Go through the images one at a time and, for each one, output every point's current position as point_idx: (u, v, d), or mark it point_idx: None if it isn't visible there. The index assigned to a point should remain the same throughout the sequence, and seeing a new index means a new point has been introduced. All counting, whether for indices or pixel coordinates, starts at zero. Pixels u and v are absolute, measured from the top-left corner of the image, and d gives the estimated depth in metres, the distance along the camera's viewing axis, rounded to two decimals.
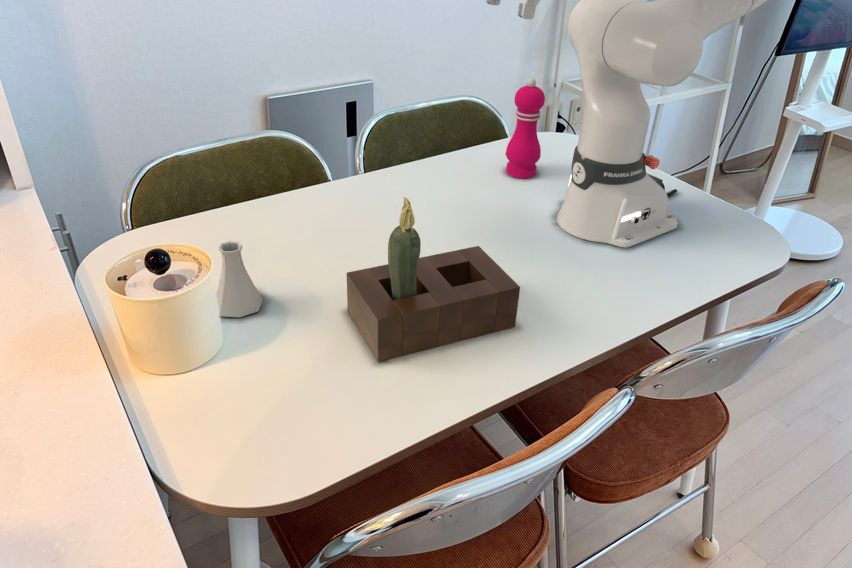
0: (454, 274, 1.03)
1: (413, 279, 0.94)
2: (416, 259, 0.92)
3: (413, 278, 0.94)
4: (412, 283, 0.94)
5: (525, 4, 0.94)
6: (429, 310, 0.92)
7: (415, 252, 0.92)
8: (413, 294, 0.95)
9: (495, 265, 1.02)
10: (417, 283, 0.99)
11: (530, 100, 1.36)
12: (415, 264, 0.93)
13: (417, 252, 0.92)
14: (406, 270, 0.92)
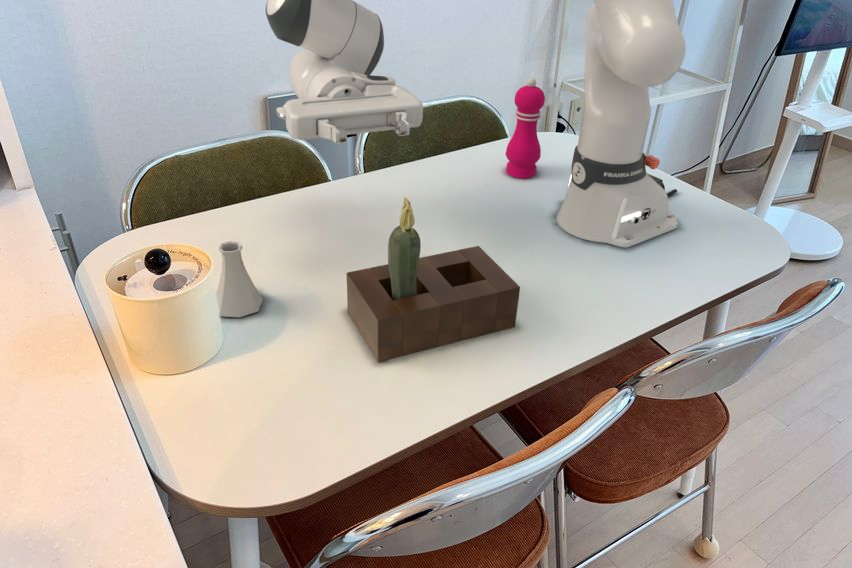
0: (454, 274, 1.03)
1: (413, 279, 0.94)
2: (416, 259, 0.92)
3: (413, 278, 0.94)
4: (412, 283, 0.94)
5: (331, 139, 0.95)
6: (429, 310, 0.92)
7: (415, 252, 0.92)
8: (413, 294, 0.95)
9: (495, 265, 1.02)
10: (417, 283, 0.99)
11: (530, 100, 1.36)
12: (415, 264, 0.93)
13: (417, 252, 0.92)
14: (406, 270, 0.92)
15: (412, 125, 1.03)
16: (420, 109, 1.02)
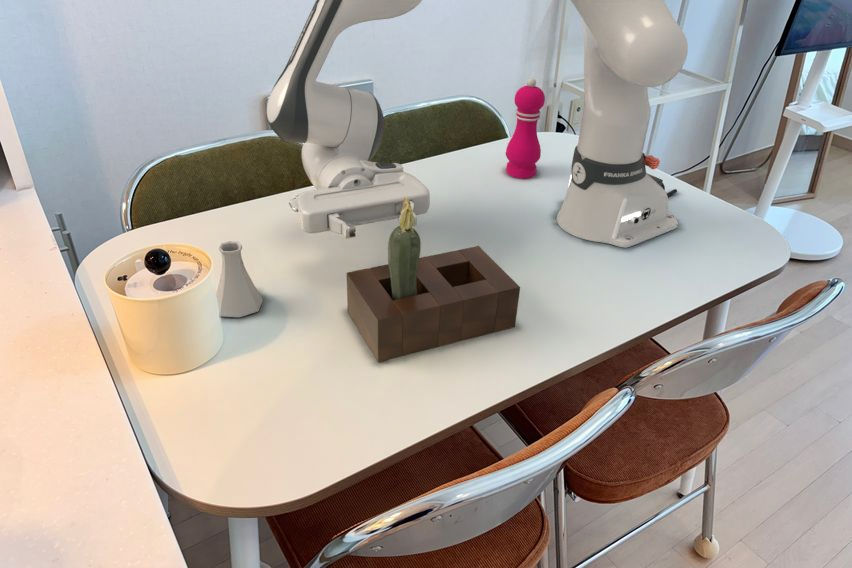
0: (454, 274, 1.03)
1: (413, 279, 0.94)
2: (416, 259, 0.92)
3: (413, 278, 0.94)
4: (412, 283, 0.94)
5: (341, 233, 1.00)
6: (429, 310, 0.92)
7: (415, 252, 0.92)
8: (413, 294, 0.95)
9: (495, 265, 1.02)
10: (417, 283, 0.99)
11: (530, 100, 1.36)
12: (415, 264, 0.93)
13: (417, 252, 0.92)
14: (406, 270, 0.92)
15: (419, 212, 1.07)
16: (427, 197, 1.06)
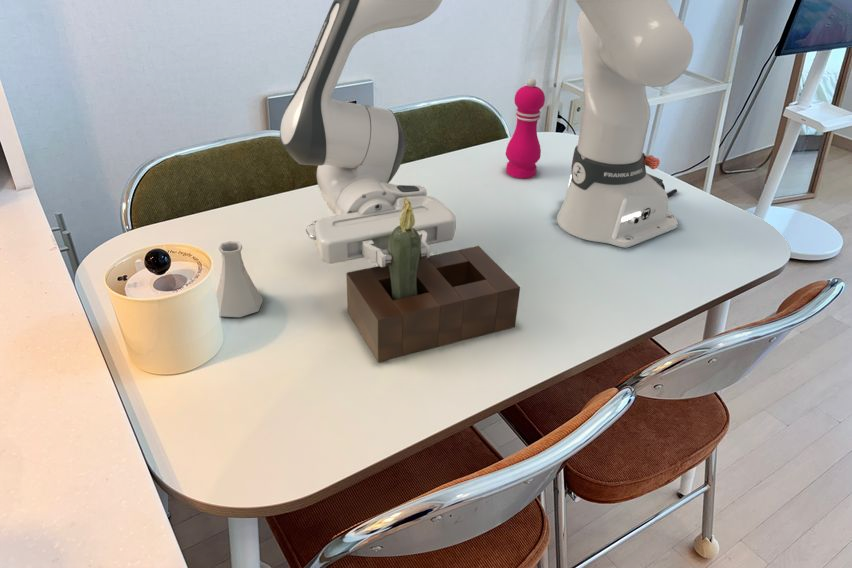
0: (454, 274, 1.03)
1: (413, 279, 0.94)
2: (416, 259, 0.92)
3: (413, 278, 0.94)
4: (412, 283, 0.94)
5: (376, 261, 0.93)
6: (429, 310, 0.92)
7: (415, 252, 0.92)
8: (413, 294, 0.95)
9: (495, 265, 1.02)
10: (417, 283, 0.99)
11: (530, 100, 1.36)
12: (415, 264, 0.93)
13: (417, 252, 0.92)
14: (406, 270, 0.92)
15: (445, 239, 1.00)
16: (453, 224, 0.99)
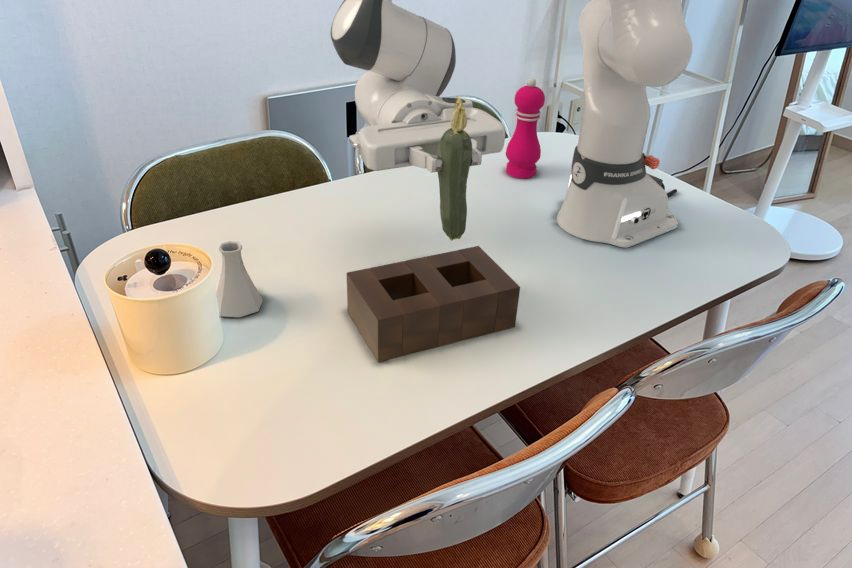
0: (454, 274, 1.03)
1: (464, 186, 0.89)
2: (468, 164, 0.88)
3: (464, 185, 0.89)
4: (462, 191, 0.90)
5: (425, 167, 0.89)
6: (429, 310, 0.92)
7: (467, 155, 0.87)
8: (463, 203, 0.91)
9: (495, 265, 1.02)
10: (417, 283, 0.99)
11: (530, 100, 1.36)
12: (466, 169, 0.88)
13: (469, 156, 0.87)
14: (457, 176, 0.88)
15: (494, 151, 0.96)
16: (503, 133, 0.95)
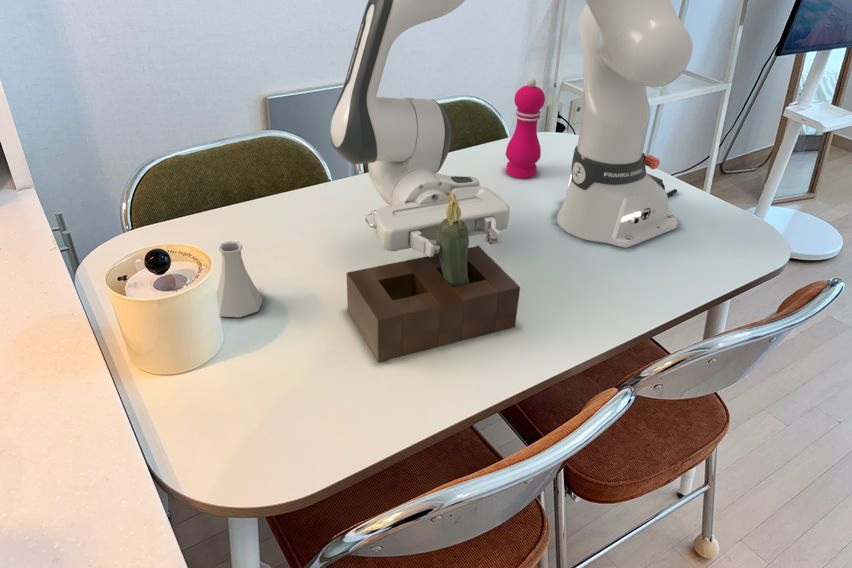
0: None
1: (464, 268, 0.97)
2: (465, 249, 0.95)
3: (464, 267, 0.96)
4: (463, 272, 0.97)
5: (424, 251, 0.96)
6: (429, 310, 0.92)
7: (464, 242, 0.94)
8: (465, 282, 0.98)
9: (495, 265, 1.02)
10: (417, 283, 0.99)
11: (530, 100, 1.36)
12: (465, 254, 0.95)
13: (466, 242, 0.94)
14: (456, 261, 0.95)
15: (499, 228, 1.03)
16: (507, 213, 1.02)
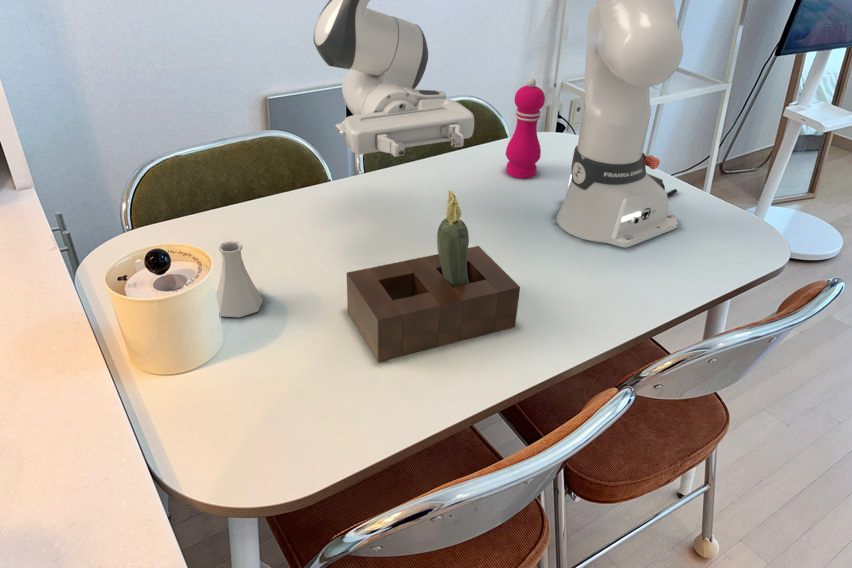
0: None
1: (464, 268, 0.97)
2: (465, 249, 0.95)
3: (464, 267, 0.96)
4: (463, 272, 0.97)
5: (390, 152, 1.01)
6: (429, 310, 0.92)
7: (464, 242, 0.94)
8: (465, 282, 0.98)
9: (495, 265, 1.02)
10: (417, 283, 0.99)
11: (530, 100, 1.36)
12: (465, 254, 0.95)
13: (466, 242, 0.94)
14: (456, 261, 0.95)
15: (464, 136, 1.08)
16: (472, 121, 1.07)
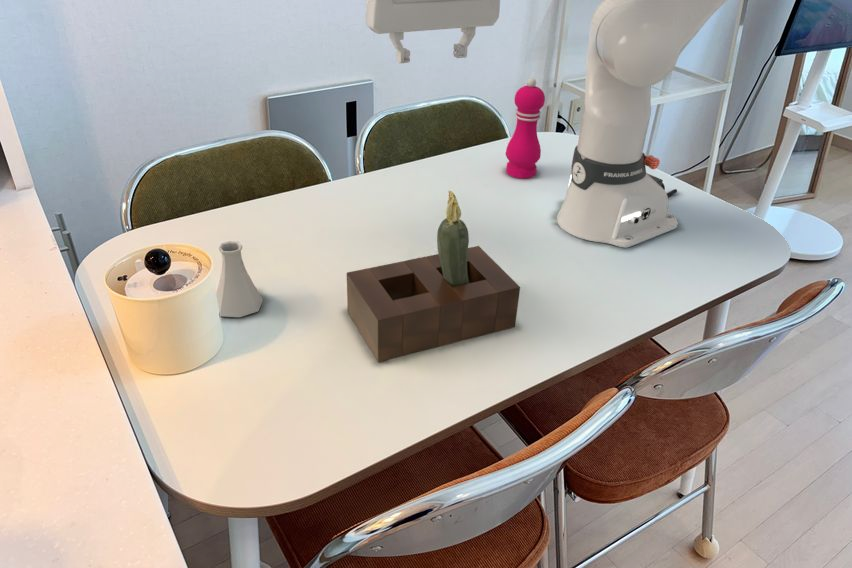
0: None
1: (464, 268, 0.97)
2: (465, 249, 0.95)
3: (464, 267, 0.96)
4: (463, 272, 0.97)
5: (396, 48, 1.02)
6: (429, 310, 0.92)
7: (463, 242, 0.94)
8: (465, 282, 0.98)
9: (495, 265, 1.02)
10: (417, 283, 0.99)
11: (530, 100, 1.36)
12: (465, 254, 0.95)
13: (466, 242, 0.94)
14: (456, 261, 0.95)
15: None
16: (491, 24, 1.05)
